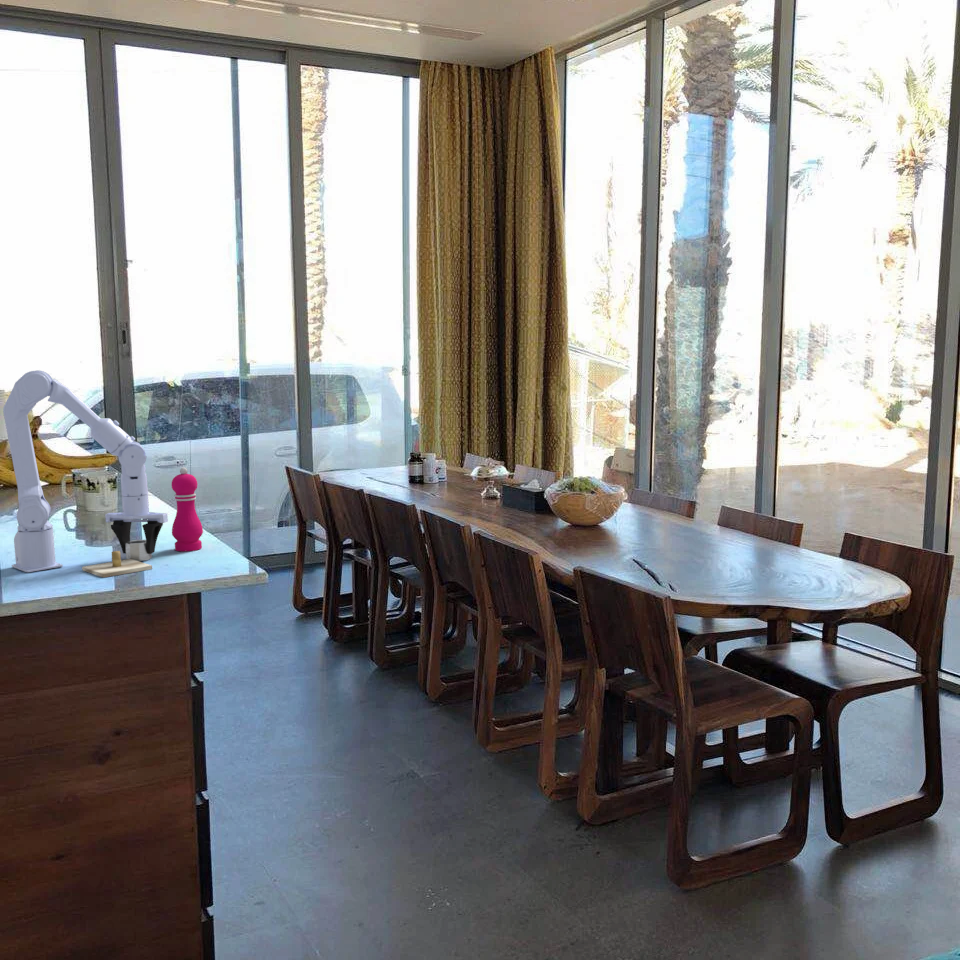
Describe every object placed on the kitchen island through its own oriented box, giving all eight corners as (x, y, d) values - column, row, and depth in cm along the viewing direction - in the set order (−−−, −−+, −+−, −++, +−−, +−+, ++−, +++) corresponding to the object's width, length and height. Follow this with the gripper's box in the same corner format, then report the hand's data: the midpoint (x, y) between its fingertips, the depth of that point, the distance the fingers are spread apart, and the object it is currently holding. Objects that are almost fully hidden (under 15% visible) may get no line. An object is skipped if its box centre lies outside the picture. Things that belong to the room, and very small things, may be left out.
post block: (82, 570, 218) (80, 552, 218) (129, 562, 226) (128, 544, 225) (103, 577, 210) (102, 559, 210) (152, 568, 218) (151, 551, 218)
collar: (123, 559, 229) (122, 542, 228) (144, 555, 233) (143, 538, 232) (133, 562, 225) (132, 545, 225) (155, 558, 229) (153, 541, 228)
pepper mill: (210, 547, 241) (205, 466, 238) (187, 553, 235) (182, 469, 232) (189, 545, 245) (184, 465, 242) (166, 550, 239) (161, 468, 236)
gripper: (96, 497, 224) (100, 555, 226) (155, 497, 222) (159, 556, 224) (113, 492, 231) (117, 549, 233) (170, 493, 229) (174, 550, 230)
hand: (138, 552), depth 229 cm, fingers closed on collar, 5 cm apart
